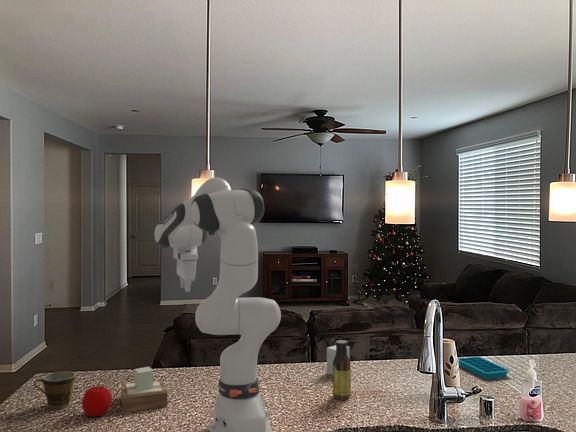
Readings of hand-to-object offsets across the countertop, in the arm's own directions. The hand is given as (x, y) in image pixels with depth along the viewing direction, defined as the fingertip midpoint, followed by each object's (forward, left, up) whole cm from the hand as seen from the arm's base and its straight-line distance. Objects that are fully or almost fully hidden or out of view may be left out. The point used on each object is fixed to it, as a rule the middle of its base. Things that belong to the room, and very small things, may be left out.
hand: (185, 289), depth 193 cm
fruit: (-20, +32, -35) cm, 52 cm away
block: (-15, +17, -30) cm, 38 cm away
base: (-15, +17, -35) cm, 42 cm away
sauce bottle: (-36, -48, -35) cm, 70 cm away
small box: (-12, -59, -35) cm, 70 cm away
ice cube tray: (-31, -115, -36) cm, 124 cm away
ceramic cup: (-8, +45, -35) cm, 58 cm away
